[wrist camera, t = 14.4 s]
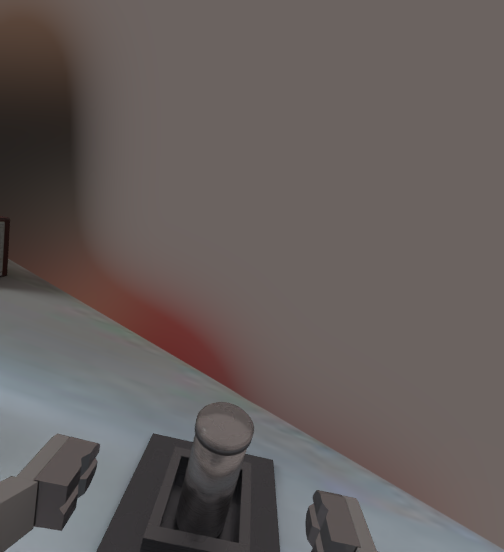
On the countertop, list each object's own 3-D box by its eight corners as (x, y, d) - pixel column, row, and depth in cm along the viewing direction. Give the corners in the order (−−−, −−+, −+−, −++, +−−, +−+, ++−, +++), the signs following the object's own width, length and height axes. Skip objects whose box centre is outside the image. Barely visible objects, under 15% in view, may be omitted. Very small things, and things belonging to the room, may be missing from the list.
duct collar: (66, 617, 19) (71, 587, 18) (152, 437, 34) (156, 417, 34) (285, 659, 19) (297, 631, 19) (271, 463, 35) (277, 445, 34)
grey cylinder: (166, 539, 24) (190, 438, 22) (181, 482, 29) (202, 395, 27) (224, 551, 24) (254, 452, 22) (229, 492, 29) (254, 407, 27)
